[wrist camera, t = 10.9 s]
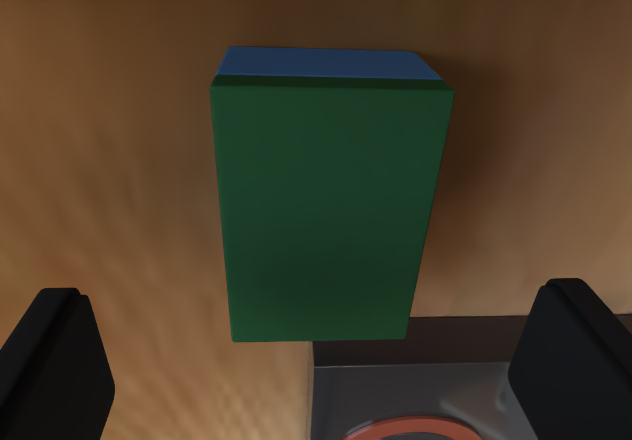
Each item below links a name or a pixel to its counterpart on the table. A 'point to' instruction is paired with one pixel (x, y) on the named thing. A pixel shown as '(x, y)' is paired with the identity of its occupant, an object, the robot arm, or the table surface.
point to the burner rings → (416, 429)
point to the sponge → (325, 188)
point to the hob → (421, 378)
